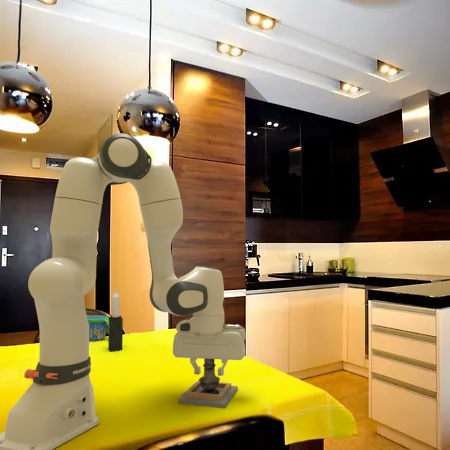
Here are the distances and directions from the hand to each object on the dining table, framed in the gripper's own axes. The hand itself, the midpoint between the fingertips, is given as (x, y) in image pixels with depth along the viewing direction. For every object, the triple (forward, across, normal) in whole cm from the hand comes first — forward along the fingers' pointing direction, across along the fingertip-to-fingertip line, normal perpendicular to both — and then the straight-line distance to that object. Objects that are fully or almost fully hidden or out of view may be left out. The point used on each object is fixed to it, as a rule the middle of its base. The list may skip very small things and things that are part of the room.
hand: (209, 374), depth 104 cm
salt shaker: (+5, 0, 0) cm, 5 cm away
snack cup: (+6, +66, -57) cm, 88 cm away
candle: (+6, +50, -42) cm, 65 cm away
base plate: (+6, 0, 0) cm, 6 cm away
